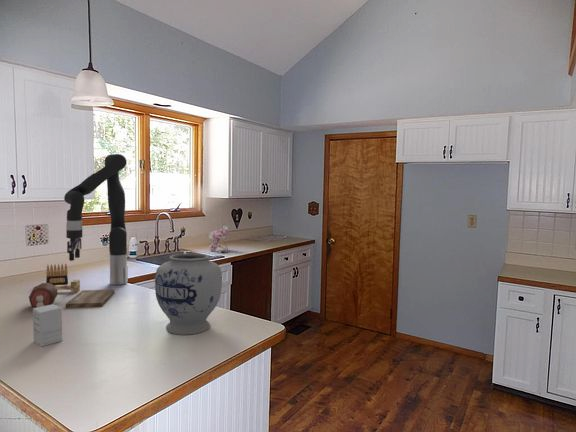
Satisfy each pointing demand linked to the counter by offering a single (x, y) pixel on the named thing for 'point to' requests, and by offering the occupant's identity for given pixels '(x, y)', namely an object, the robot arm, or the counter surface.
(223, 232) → the flower
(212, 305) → the apothecary jar
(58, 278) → the ammunition clip
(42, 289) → the meat
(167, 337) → the counter surface
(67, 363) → the counter surface
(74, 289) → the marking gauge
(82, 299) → the walnut board
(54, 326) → the supplement box
